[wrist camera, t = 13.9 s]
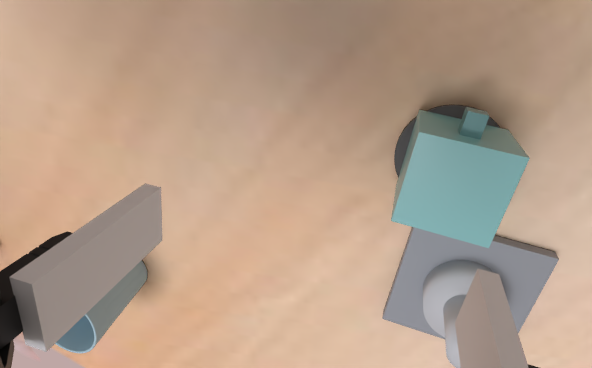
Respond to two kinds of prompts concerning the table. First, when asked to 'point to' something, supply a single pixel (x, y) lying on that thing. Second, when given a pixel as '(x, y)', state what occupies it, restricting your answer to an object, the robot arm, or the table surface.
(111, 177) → the table surface
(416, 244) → the square plate with peg
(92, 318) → the cup
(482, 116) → the teal cube with tab
